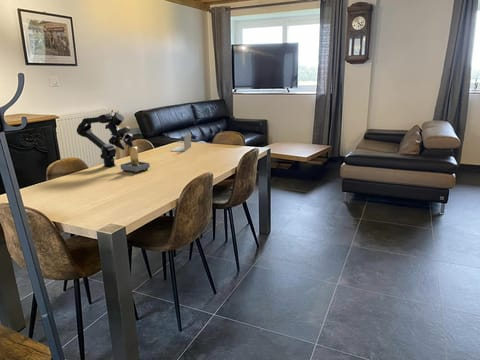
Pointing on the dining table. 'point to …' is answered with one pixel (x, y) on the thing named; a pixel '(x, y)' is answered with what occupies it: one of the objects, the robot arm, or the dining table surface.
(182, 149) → the laptop
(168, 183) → the dining table surface
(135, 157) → the gold cylinder
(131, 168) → the gray rectangular tray
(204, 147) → the dining table surface
